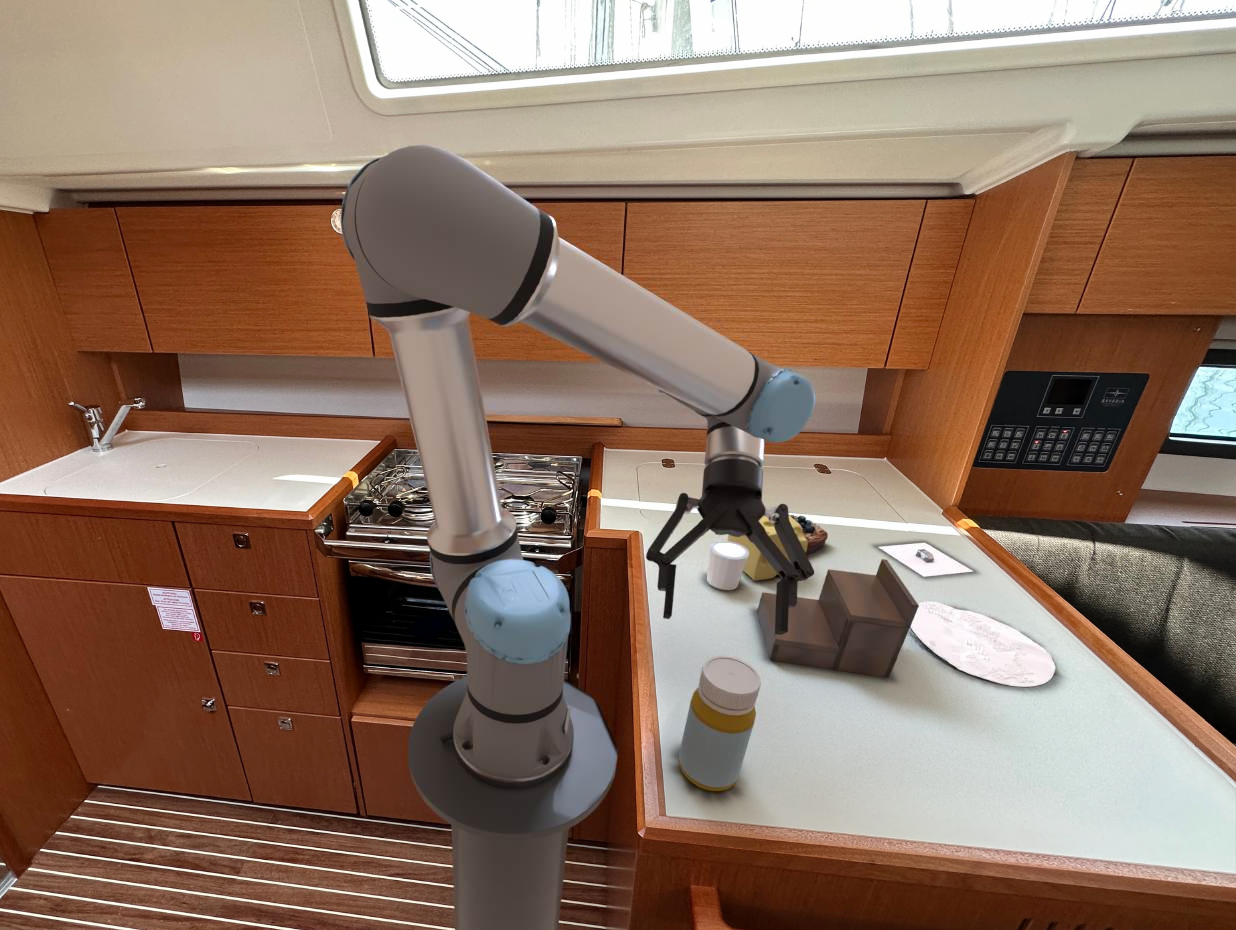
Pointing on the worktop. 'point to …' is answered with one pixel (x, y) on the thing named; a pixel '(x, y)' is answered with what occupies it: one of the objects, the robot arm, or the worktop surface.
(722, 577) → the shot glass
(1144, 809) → the worktop surface
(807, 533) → the pastry
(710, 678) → the bottle
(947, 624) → the plaque
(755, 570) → the cheese
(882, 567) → the step rack
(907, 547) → the white paper sheet
